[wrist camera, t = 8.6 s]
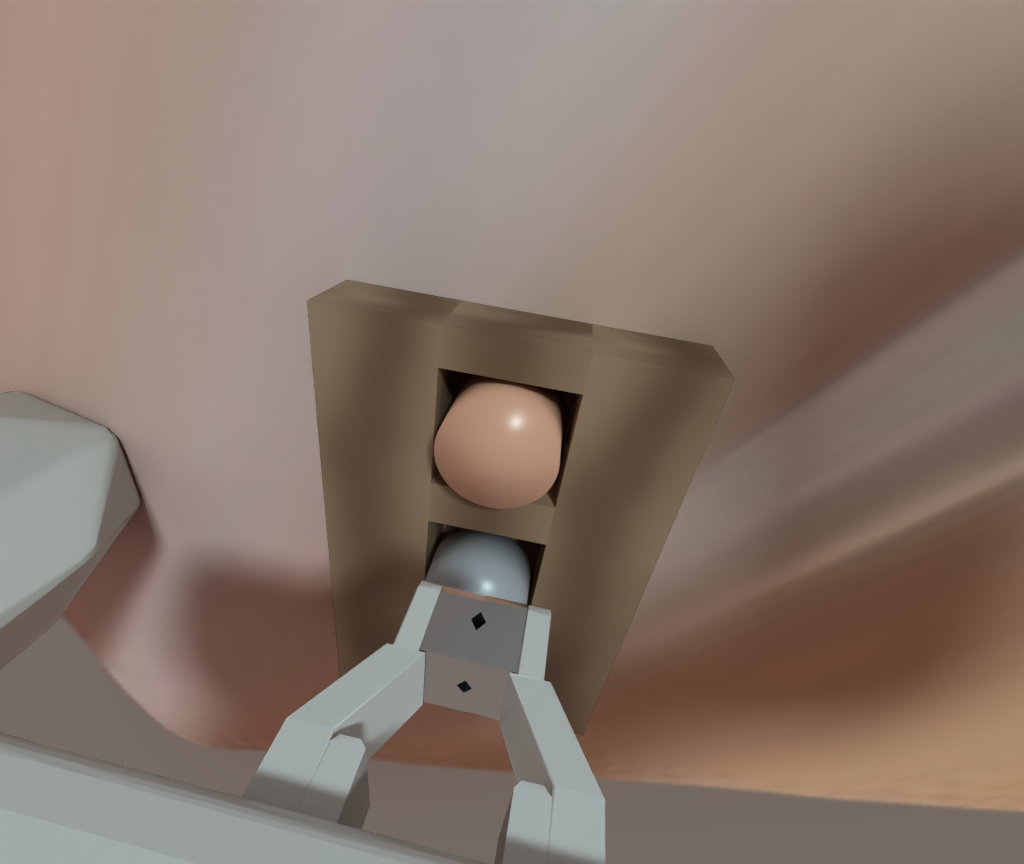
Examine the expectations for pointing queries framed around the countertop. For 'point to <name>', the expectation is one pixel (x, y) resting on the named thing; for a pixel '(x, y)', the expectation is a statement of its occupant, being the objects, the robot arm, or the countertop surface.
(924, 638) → the countertop surface
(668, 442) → the panel
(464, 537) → the button grey
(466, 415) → the button terracotta
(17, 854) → the robot arm
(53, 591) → the white faceted column
